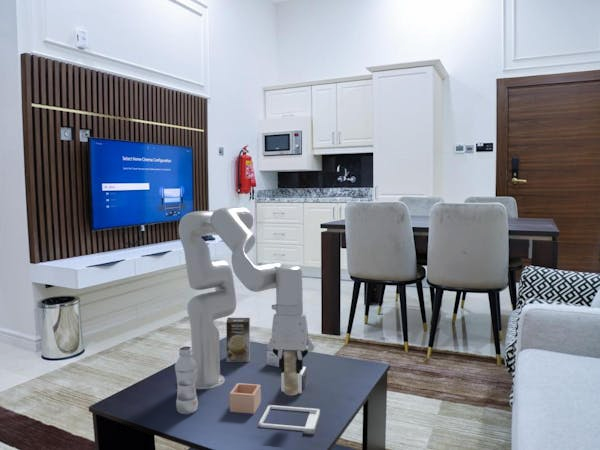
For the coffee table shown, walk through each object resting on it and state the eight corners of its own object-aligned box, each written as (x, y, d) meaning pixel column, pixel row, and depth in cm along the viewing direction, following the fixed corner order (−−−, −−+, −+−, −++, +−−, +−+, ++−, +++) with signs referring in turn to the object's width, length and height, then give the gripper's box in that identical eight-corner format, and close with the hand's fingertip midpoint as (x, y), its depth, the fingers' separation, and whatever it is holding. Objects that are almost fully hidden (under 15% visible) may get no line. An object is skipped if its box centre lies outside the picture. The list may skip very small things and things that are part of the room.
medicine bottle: (302, 395, 159) (302, 360, 157) (281, 393, 160) (280, 358, 159) (306, 386, 166) (306, 352, 164) (286, 384, 167) (285, 351, 166)
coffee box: (226, 362, 188) (225, 322, 186) (227, 356, 194) (226, 317, 193) (249, 362, 188) (249, 321, 187) (250, 356, 195) (250, 317, 193)
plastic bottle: (187, 419, 143) (185, 353, 141) (171, 413, 146) (169, 349, 145) (202, 410, 148) (201, 347, 147) (186, 405, 152) (185, 343, 150)
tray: (258, 429, 137) (258, 424, 137) (268, 409, 149) (268, 404, 149) (314, 434, 134) (314, 429, 134) (320, 413, 146) (320, 409, 146)
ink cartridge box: (291, 370, 180) (291, 344, 179) (266, 364, 186) (266, 339, 185) (295, 367, 182) (295, 342, 182) (270, 362, 188) (269, 338, 187)
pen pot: (230, 414, 146) (229, 393, 146) (237, 402, 154) (237, 383, 153) (254, 416, 145) (254, 395, 144) (260, 404, 152) (260, 384, 152)
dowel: (283, 394, 139) (282, 350, 138) (286, 389, 143) (285, 346, 142) (296, 395, 138) (296, 351, 137) (299, 389, 142) (298, 346, 141)
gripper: (257, 311, 136) (259, 375, 138) (316, 313, 133) (317, 378, 135) (264, 305, 144) (266, 365, 145) (320, 306, 141) (321, 368, 142)
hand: (291, 370), depth 140 cm, fingers closed on dowel, 4 cm apart
